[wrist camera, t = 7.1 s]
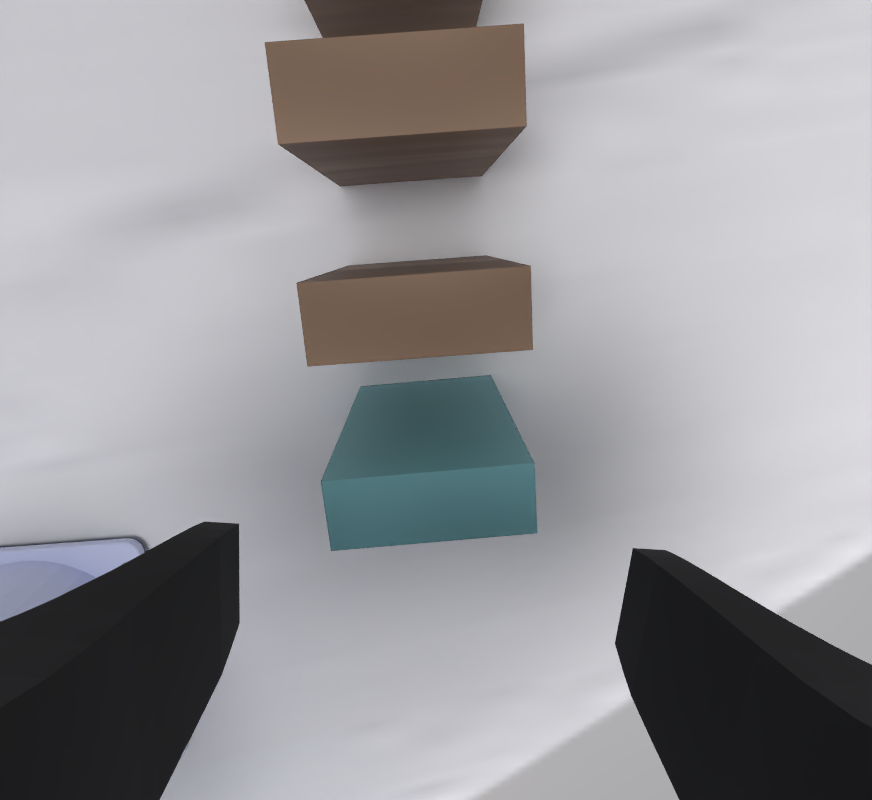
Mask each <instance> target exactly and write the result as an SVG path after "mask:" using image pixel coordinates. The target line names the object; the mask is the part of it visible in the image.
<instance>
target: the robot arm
mask: <svg viewBox="0 0 872 800" xmlns="http://www.w3.org/2000/svg"><path fill="white" fill-rule="evenodd" d="M238 626H239V524H233V523H217V522H203V523H200V524H198V525H196V526H193V527H191V528H189V529H187V530H185V531H184V532H182V533H180V534H178V535H176V536H174V537H172V538H171V539H169V540H167V541H165V542H163V543H161V544H160V545H158V546H156V547H154V548H152V549H150V550H149V551H147V552H144V549H143V547H142V545H141V544H140V543H139V542H138V541H136V540H134V539H130V538H123V539H110V540H96V541H83V542H70V543H56V544H43V545H30V546H16V547H3V548H0V800H160V798H161V796H162V794H163V792H164V790H165V788H166V786H167V784H168V782H169V780H170V778H171V776H172V774H173V772H174V770H175V768H176V766H177V764H178V762H179V760H180V758H181V757H182V756H183V754H184V753H185V750H186V748H187V744H188V742H189V740H190V738H191V736H192V734H193V732H194V730H195V728H196V726H197V724H198V722H199V720H200V718H201V716H202V714H203V712H204V710H205V708H206V706H207V704H208V702H209V700H210V698H211V696H212V693H213V691H214V689H215V687H216V685H217V683H218V681H219V679H220V677H221V675H222V672H223V669H224V667H225V664H226V661H227V658H228V656H229V653H230V650H231V647H232V644H233V641H234V638H235V635H236V632H237V629H238ZM615 645H616V648H617V652H618V655H619V659H620V662H621V665H622V669H623V672H624V675H625V678H626V681H627V684H628V687H629V690H630V693H631V696H632V698H633V701H634V703H635V705H636V707H637V709H638V712H639V714H640V716H641V718H642V721H643V723H644V725H645V727H646V729H647V732H648V734H649V736H650V738H651V740H652V742H653V744H654V746H655V749H656V751H657V753H658V755H659V757H660V759H661V762H662V764H663V766H664V768H665V770H666V772H667V774H668V776H669V779H670V781H671V783H672V785H673V787H674V789H675V791H676V793H677V796H678V798H679V800H872V665H871V664H869V663H867V662H865V661H863V660H860V659H858V658H856V657H854V656H853V655H850V654H848V653H846V652H845V651H843V650H841V649H839V648H837V647H834V646H833V645H831V644H829V643H827V642H826V641H824V640H822V639H820V638H818V637H816V636H814V635H813V634H811V633H809V632H807V631H805V630H804V629H802V628H800V627H798V626H796V625H795V624H793V623H791V622H789V621H788V620H786V619H784V618H782V617H781V616H779V615H777V614H775V613H774V612H772V611H770V610H769V609H767V608H765V607H763V606H762V605H760V604H758V603H757V602H755V601H753V600H752V599H750V598H748V597H747V596H745V595H743V594H742V593H740V592H738V591H737V590H735V589H734V588H732V587H730V586H729V585H727V584H725V583H724V582H722V581H720V580H719V579H717V578H715V577H714V576H712V575H710V574H709V573H707V572H705V571H704V570H702V569H700V568H699V567H697V566H695V565H693V564H692V563H690V562H688V561H686V560H684V559H683V558H681V557H679V556H677V555H675V554H673V553H670V552H668V551H666V550H653V549H636V548H633V551H632V556H631V562H630V567H629V572H628V577H627V583H626V588H625V593H624V599H623V604H622V609H621V615H620V620H619V625H618V631H617V636H616V641H615Z"/></svg>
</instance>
